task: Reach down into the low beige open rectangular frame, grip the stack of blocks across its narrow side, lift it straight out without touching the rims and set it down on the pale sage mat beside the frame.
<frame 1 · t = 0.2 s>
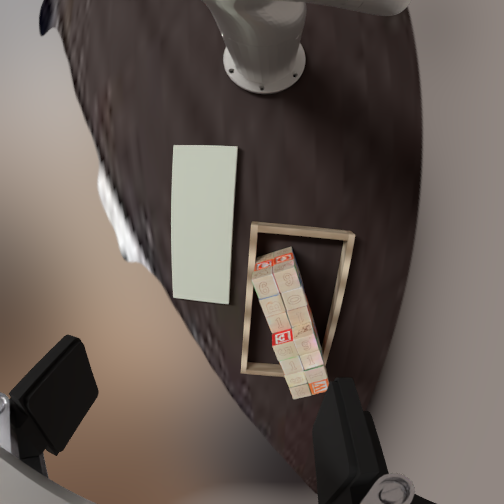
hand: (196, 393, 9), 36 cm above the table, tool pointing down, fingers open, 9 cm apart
sage mat: (202, 226, 45), on the table
stack of blocks: (291, 305, 49), resting in beige open rectangular frame
beige open rectangular frame: (291, 307, 48), on the table
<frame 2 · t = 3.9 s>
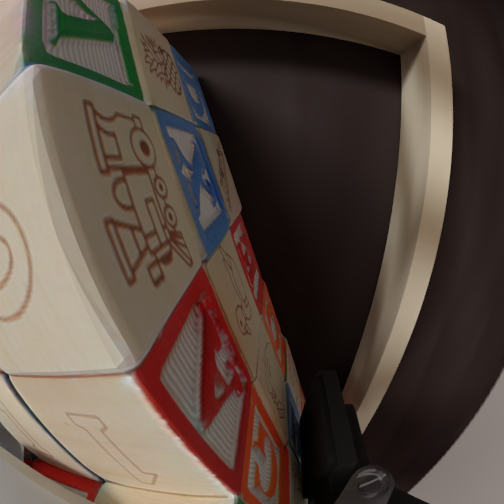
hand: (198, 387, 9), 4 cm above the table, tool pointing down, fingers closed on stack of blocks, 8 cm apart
stack of blocks: (212, 321, 13), resting in beige open rectangular frame, touching gripper
beige open rectangular frame: (215, 331, 13), on the table
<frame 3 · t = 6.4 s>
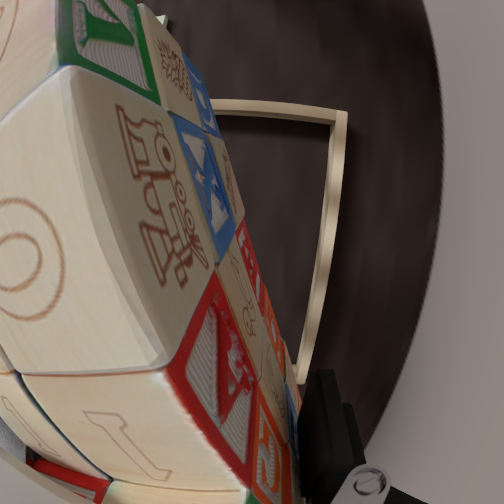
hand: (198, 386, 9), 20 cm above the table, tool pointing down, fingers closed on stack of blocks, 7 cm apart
stack of blocks: (211, 323, 13), point 16 cm above the table, touching gripper
beige open rectangular frame: (246, 252, 28), on the table
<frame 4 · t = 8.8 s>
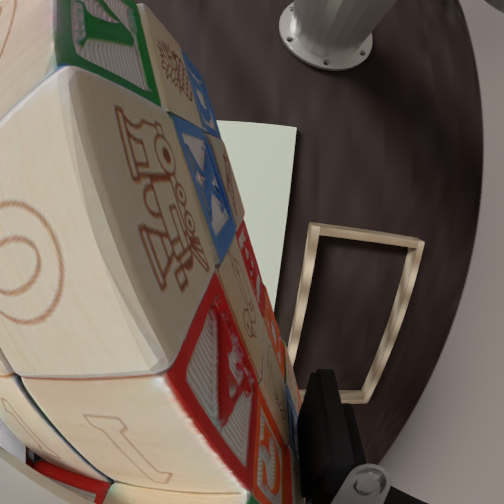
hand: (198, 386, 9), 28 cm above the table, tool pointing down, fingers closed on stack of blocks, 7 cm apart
sage mat: (245, 226, 36), on the table
stack of blocks: (212, 323, 13), point 24 cm above the table, touching gripper
beige open rectangular frame: (345, 325, 39), on the table
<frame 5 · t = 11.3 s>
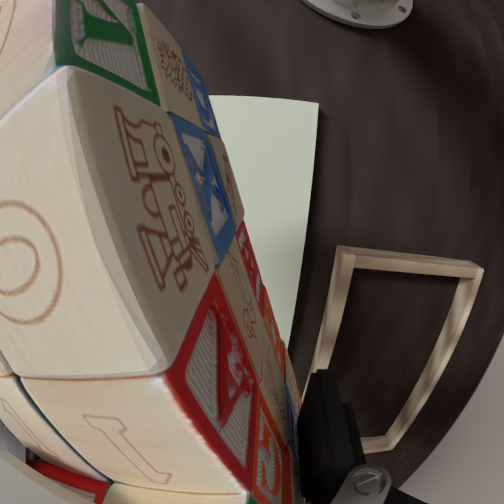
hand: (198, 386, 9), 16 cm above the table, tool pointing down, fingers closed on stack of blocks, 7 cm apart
sage mat: (242, 252, 24), on the table
stack of blocks: (211, 324, 13), point 12 cm above the table, touching gripper
beige open rectangular frame: (375, 374, 27), on the table
when the fingers open (6 cm above the table, at t = 13.8 s): stack of blocks drops 1 cm, resting on sage mat.
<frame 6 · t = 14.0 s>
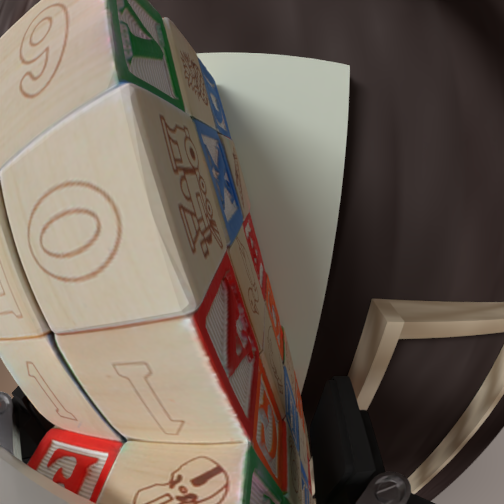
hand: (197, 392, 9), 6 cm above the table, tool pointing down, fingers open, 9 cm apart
sage mat: (223, 311, 15), on the table
stack of blocks: (216, 309, 14), point 1 cm above the table, touching sage mat
beige open rectangular frame: (398, 440, 18), on the table
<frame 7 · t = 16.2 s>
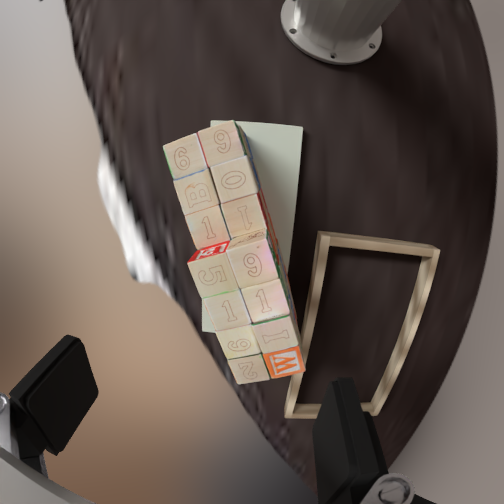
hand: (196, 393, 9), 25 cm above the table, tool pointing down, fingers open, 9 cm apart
sage mat: (247, 236, 33), on the table
stack of blocks: (247, 232, 32), point 1 cm above the table, touching sage mat
beige open rectangular frame: (355, 339, 36), on the table
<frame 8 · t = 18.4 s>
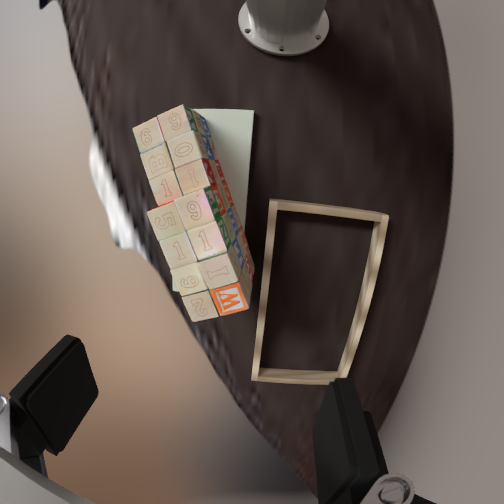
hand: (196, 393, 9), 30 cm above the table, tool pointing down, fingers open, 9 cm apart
sage mat: (209, 204, 37), on the table
stack of blocks: (209, 199, 36), point 1 cm above the table, touching sage mat
beige open rectangular frame: (313, 302, 41), on the table
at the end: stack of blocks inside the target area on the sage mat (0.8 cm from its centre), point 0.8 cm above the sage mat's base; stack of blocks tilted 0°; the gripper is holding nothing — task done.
